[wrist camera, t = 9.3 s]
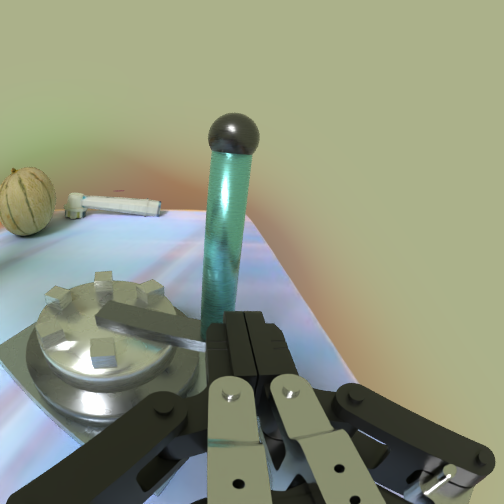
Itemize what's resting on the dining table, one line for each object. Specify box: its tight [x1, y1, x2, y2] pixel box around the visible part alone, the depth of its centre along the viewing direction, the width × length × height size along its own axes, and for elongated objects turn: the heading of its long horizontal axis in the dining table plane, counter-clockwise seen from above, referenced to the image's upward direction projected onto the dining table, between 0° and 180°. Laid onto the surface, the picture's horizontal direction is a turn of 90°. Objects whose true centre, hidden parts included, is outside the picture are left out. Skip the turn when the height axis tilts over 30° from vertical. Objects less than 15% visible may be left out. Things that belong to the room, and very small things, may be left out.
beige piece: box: [64, 193, 161, 219], centre depth 66 cm, size 5×7×25 cm
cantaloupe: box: [0, 167, 56, 236], centre depth 48 cm, size 15×15×15 cm
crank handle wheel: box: [35, 113, 259, 393], centre depth 20 cm, size 18×13×19 cm
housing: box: [0, 306, 207, 496], centre depth 24 cm, size 22×18×4 cm
